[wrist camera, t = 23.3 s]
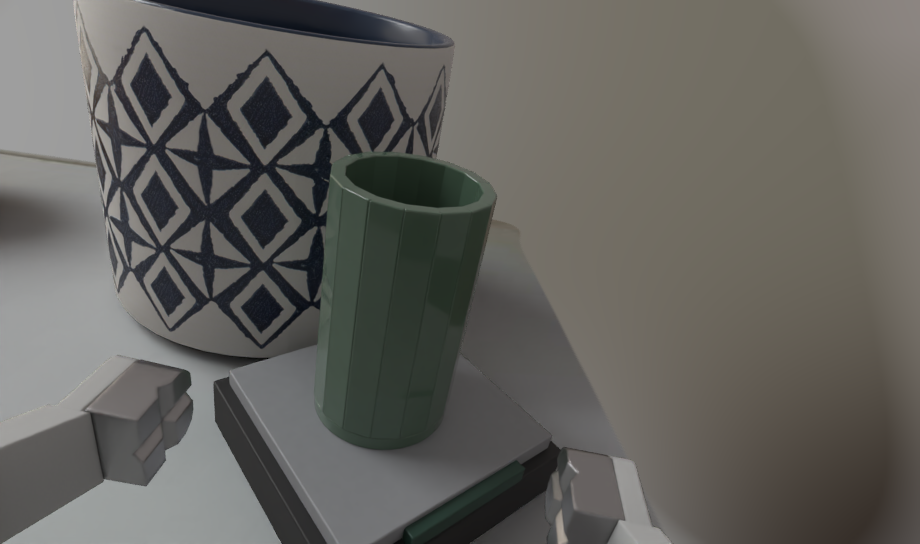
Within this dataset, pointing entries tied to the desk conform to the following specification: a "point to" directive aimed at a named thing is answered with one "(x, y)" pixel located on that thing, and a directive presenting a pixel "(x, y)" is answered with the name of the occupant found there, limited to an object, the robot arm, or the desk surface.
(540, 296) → the desk surface
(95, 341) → the desk surface
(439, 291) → the cup
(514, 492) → the scale
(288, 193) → the planter
